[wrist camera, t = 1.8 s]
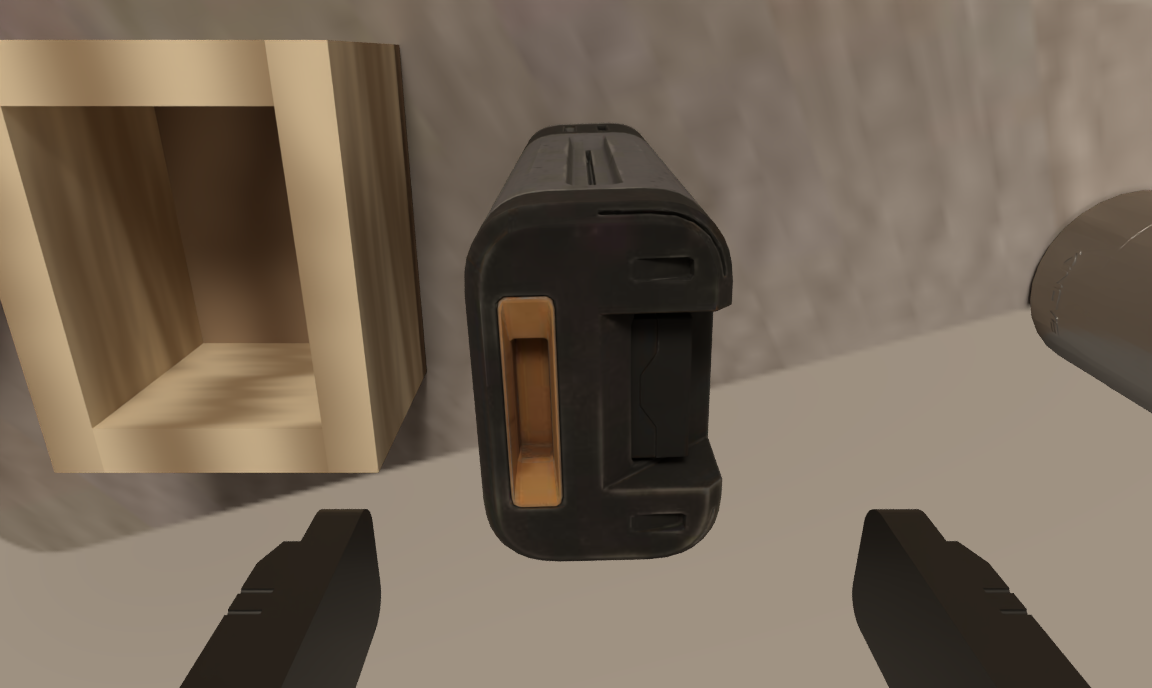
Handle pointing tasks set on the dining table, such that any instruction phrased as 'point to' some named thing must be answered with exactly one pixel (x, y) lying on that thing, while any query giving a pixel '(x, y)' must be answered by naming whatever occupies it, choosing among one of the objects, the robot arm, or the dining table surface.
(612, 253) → the electronic device
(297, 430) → the walled box
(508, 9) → the dining table surface
